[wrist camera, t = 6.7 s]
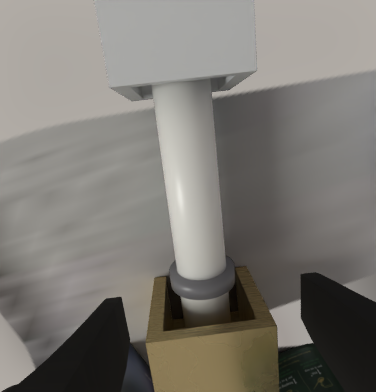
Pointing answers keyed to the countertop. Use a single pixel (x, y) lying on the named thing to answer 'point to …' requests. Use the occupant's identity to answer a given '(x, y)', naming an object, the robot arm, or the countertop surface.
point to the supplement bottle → (9, 388)
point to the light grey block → (176, 43)
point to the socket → (214, 346)
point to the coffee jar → (305, 371)
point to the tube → (194, 201)
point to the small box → (137, 374)
